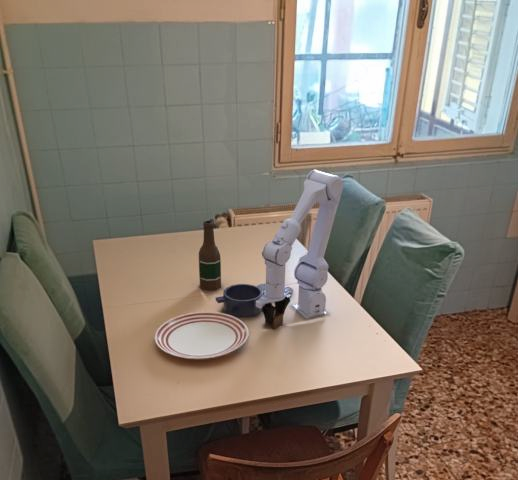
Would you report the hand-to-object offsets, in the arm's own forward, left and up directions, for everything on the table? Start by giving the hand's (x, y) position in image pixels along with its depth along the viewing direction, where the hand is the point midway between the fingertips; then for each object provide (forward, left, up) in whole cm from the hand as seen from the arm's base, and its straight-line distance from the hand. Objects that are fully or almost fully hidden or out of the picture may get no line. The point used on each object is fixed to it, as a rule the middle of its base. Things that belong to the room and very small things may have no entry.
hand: (274, 321), depth 177 cm
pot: (+13, +5, -1) cm, 14 cm away
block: (0, 0, -1) cm, 1 cm away
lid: (+20, -9, -1) cm, 22 cm away
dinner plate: (-1, +24, -2) cm, 24 cm away
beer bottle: (+33, +9, -2) cm, 34 cm away
